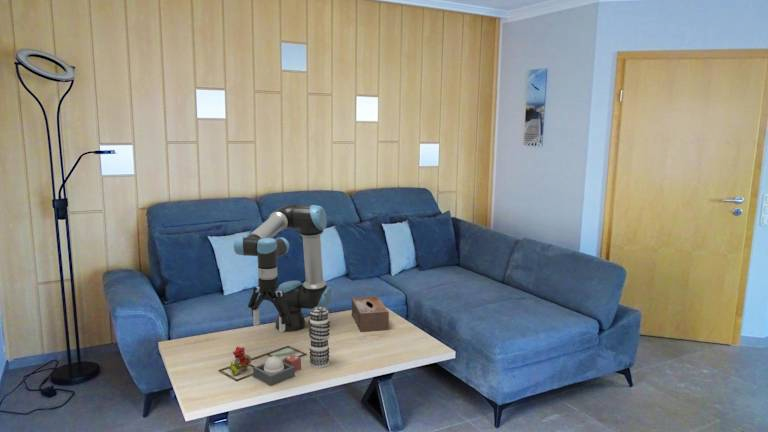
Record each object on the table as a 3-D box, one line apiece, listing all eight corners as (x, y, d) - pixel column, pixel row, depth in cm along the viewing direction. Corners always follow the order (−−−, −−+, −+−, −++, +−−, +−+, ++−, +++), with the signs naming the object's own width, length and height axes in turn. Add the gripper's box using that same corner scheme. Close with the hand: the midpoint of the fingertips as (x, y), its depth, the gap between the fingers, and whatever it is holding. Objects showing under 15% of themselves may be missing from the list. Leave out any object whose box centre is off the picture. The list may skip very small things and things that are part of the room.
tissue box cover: (351, 315, 300) (351, 297, 299) (377, 313, 304) (377, 296, 302) (360, 332, 276) (360, 313, 274) (388, 330, 279) (388, 311, 277)
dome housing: (253, 376, 226) (252, 363, 225) (288, 363, 239) (288, 351, 238) (270, 386, 218) (270, 372, 217) (306, 371, 231) (306, 359, 230)
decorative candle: (321, 370, 233) (320, 313, 229) (304, 364, 237) (303, 309, 233) (334, 362, 240) (334, 307, 236) (317, 357, 245) (317, 303, 241)
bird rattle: (241, 372, 235) (223, 369, 229) (250, 346, 236) (232, 343, 230) (249, 377, 230) (230, 374, 224) (257, 351, 232) (239, 348, 225)
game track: (218, 371, 231) (218, 369, 231) (288, 346, 257) (288, 345, 257) (236, 381, 222) (236, 380, 222) (306, 354, 248) (306, 353, 248)
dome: (260, 374, 226) (259, 357, 225) (276, 368, 232) (275, 351, 230) (271, 380, 221) (271, 362, 219) (287, 374, 226) (287, 356, 225)
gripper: (238, 275, 223) (239, 325, 226) (286, 284, 211) (287, 337, 214) (251, 270, 229) (252, 319, 233) (298, 279, 217) (299, 331, 221)
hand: (269, 328), depth 224 cm, fingers open, 13 cm apart
